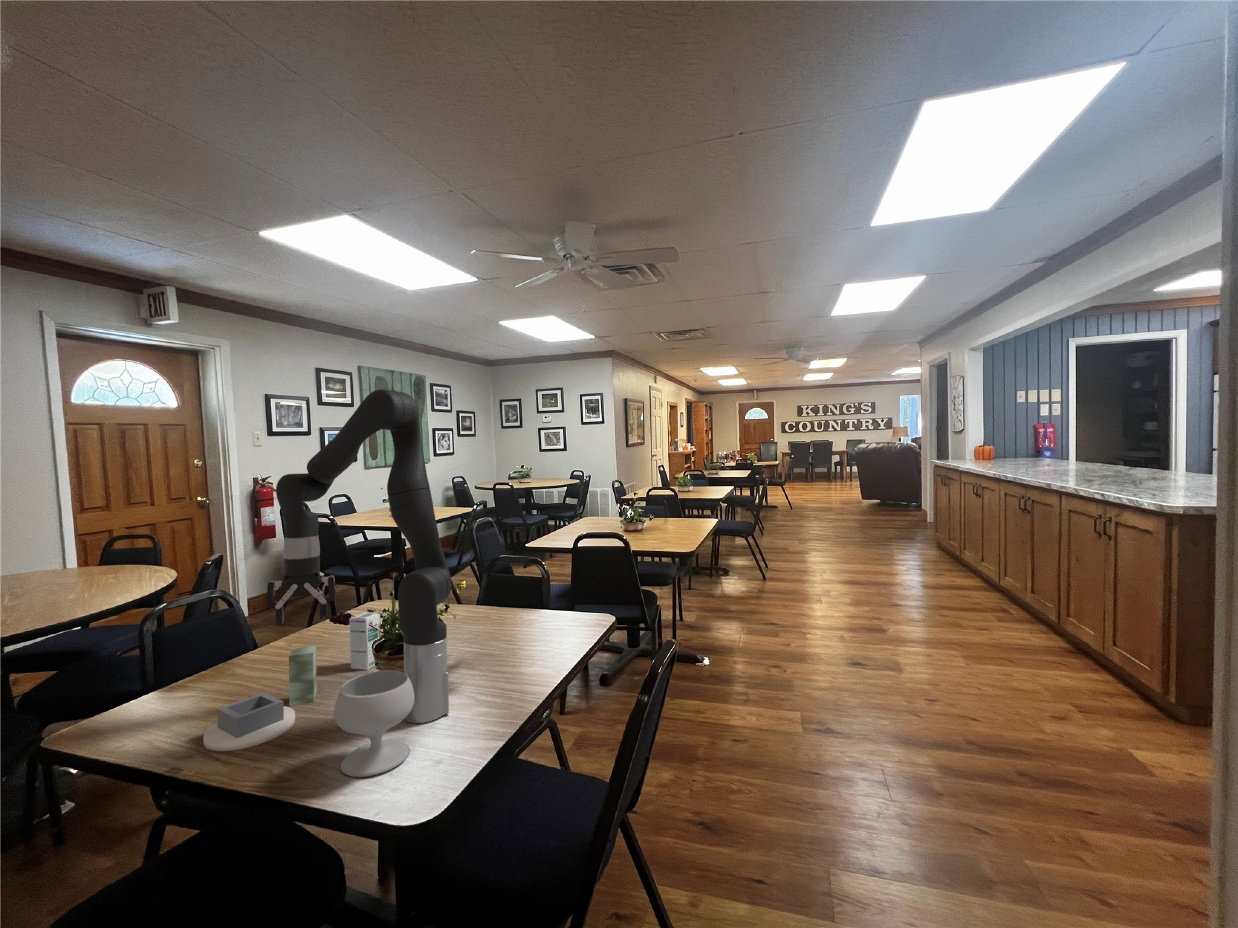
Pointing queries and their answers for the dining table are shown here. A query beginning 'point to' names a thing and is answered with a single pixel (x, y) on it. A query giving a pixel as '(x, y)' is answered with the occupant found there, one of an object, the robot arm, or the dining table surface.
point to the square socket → (249, 723)
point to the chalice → (374, 719)
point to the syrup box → (363, 639)
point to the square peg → (302, 675)
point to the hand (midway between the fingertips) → (302, 620)
